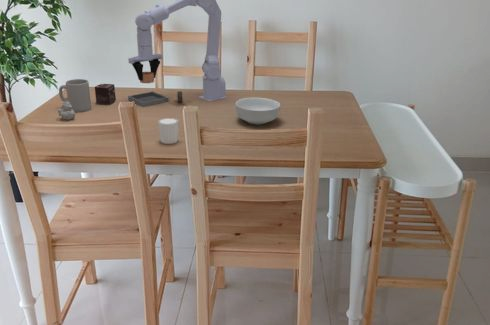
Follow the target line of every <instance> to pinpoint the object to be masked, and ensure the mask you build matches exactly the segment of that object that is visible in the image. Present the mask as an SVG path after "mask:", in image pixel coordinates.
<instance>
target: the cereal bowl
mask: <svg viewBox="0 0 490 325" xmlns="http://www.w3.org/2000/svg"><path fill="white" fill-rule="evenodd" d="M234 105H235V112H236V115H237V117H239V119H240V120H241V119H242V120H243V121H245V122H246V123H248V124H250V125H265V124H268V123H269V122H270V123H271V122H272V121H274V120H275V119H277V117H278V116H279V114H280V111H281V103H280V102H279V101H277V100H274V99H271V98H264V97H253V96H252V97H244V98H240V99H238V100H237V101H236V102H235V104H234Z"/></svg>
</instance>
